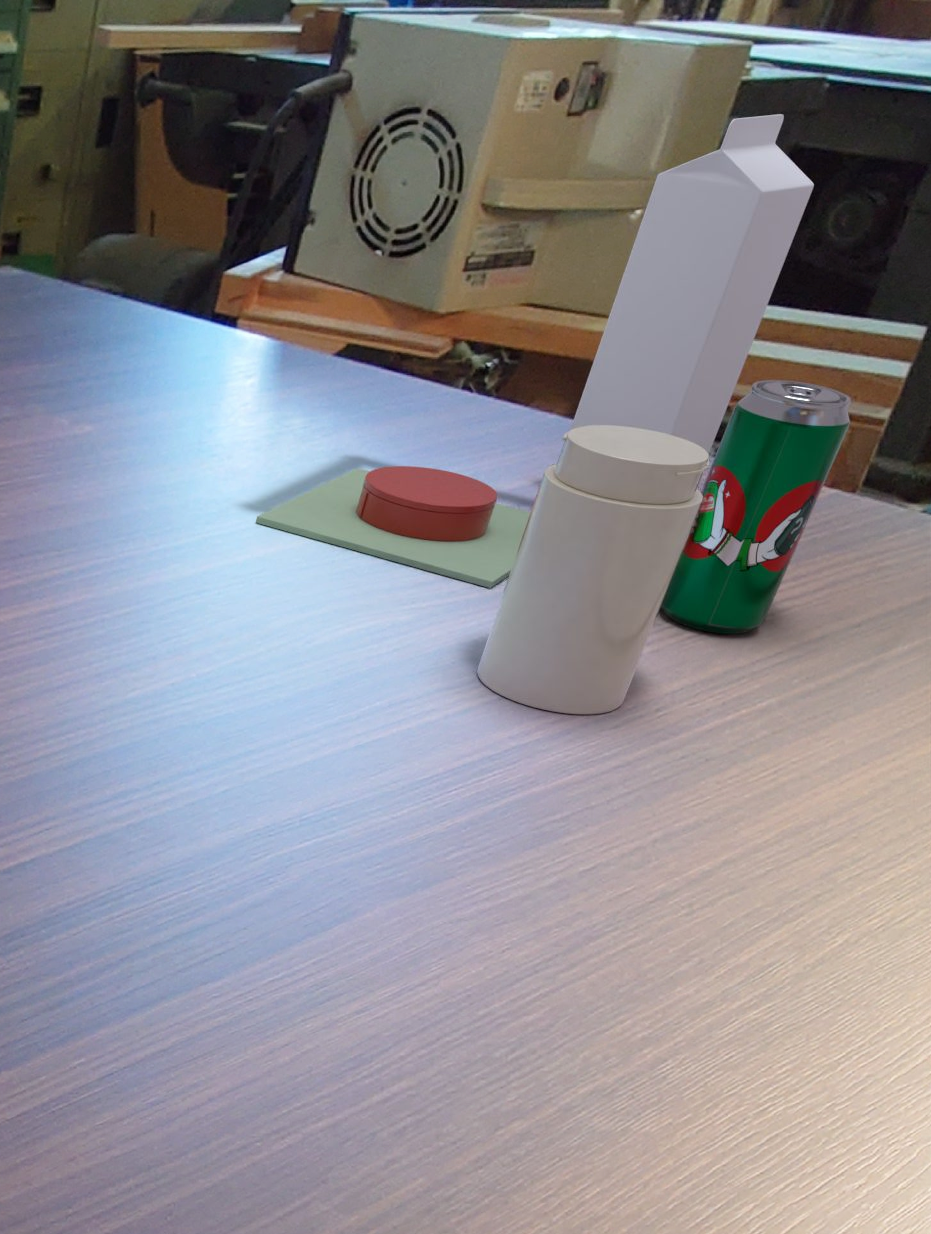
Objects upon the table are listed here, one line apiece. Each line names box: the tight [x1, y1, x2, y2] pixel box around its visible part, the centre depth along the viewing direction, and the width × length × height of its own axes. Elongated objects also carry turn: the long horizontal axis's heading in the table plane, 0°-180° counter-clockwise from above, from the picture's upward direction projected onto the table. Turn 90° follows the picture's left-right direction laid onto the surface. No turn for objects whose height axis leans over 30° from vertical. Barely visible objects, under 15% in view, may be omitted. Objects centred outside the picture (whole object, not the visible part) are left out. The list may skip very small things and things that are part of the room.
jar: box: [476, 425, 710, 715], centre depth 79 cm, size 7×7×12 cm
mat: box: [255, 467, 531, 589], centre depth 101 cm, size 14×14×1 cm
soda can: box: [661, 379, 852, 635], centre depth 87 cm, size 5×5×12 cm
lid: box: [356, 465, 498, 541], centre depth 100 cm, size 7×7×2 cm
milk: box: [569, 113, 815, 455], centre depth 100 cm, size 6×6×22 cm
